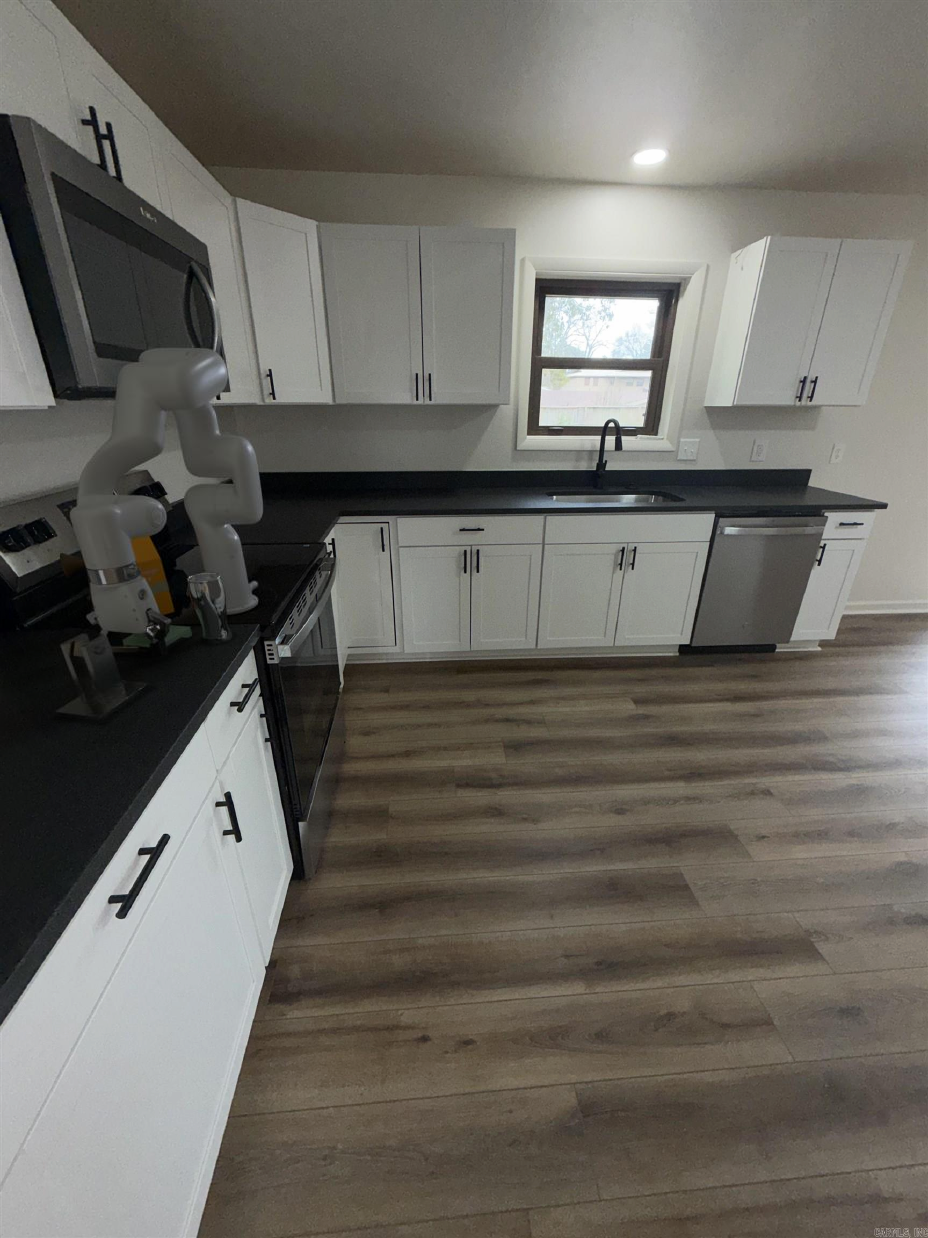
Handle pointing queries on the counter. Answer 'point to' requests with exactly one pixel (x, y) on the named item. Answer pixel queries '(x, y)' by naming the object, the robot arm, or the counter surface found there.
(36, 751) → the counter surface
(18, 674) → the counter surface
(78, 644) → the stove lever
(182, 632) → the button block
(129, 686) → the lever bracket
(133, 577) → the robot arm
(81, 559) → the kendama
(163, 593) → the orange juice
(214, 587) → the beer glass
